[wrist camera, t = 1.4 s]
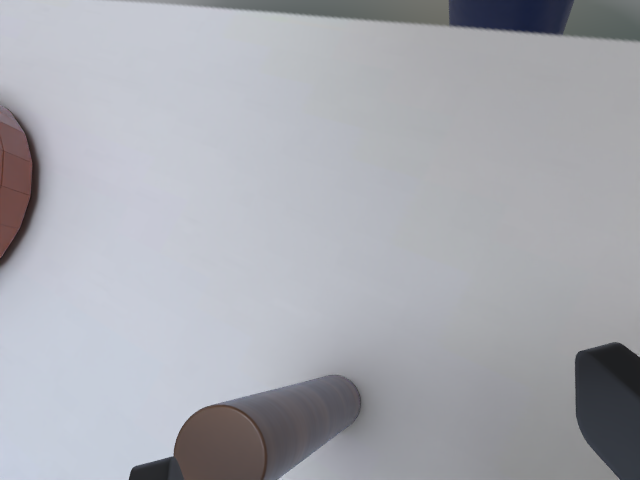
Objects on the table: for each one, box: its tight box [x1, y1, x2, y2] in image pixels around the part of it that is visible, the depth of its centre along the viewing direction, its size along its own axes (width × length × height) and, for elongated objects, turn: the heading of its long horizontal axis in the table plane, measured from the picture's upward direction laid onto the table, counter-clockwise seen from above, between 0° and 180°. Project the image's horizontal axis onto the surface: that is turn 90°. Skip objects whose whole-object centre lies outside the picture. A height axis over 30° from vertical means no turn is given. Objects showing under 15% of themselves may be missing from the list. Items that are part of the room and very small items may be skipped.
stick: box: [174, 375, 361, 480], centre depth 24 cm, size 3×3×16 cm
